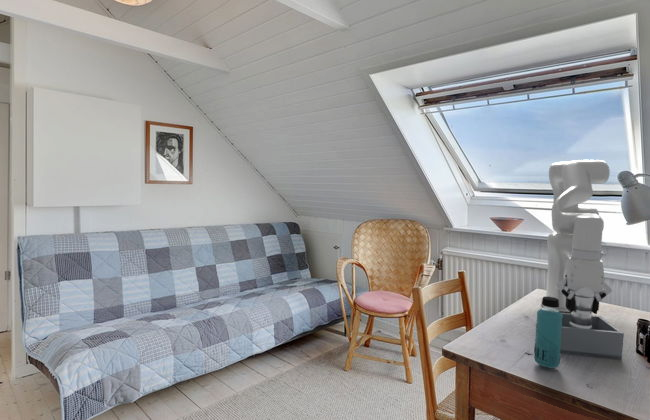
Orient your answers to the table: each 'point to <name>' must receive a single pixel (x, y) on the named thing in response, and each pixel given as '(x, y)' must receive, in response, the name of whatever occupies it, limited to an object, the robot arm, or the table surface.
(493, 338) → the table surface
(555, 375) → the table surface
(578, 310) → the silver aluminium bottle
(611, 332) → the bin
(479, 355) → the table surface
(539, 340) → the beverage bottle
